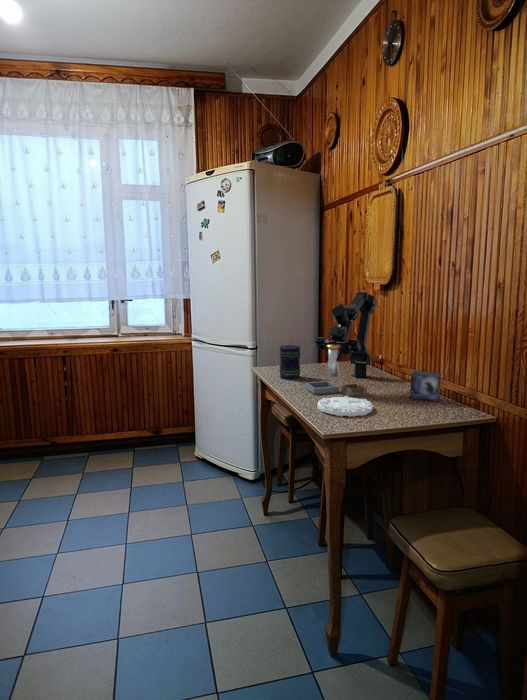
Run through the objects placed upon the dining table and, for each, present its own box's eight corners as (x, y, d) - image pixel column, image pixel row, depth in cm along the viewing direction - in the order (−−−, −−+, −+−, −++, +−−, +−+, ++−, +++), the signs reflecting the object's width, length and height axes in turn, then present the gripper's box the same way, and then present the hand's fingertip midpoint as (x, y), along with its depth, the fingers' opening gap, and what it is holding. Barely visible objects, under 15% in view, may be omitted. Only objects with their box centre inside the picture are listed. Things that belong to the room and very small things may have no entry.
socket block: (340, 391, 197) (340, 384, 196) (357, 390, 199) (358, 383, 198) (348, 396, 189) (348, 389, 189) (366, 394, 191) (366, 387, 191)
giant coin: (379, 407, 175) (379, 399, 175) (362, 421, 158) (362, 413, 158) (329, 400, 185) (329, 393, 185) (308, 412, 168) (308, 404, 168)
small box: (409, 399, 184) (410, 373, 183) (412, 395, 190) (413, 370, 188) (437, 402, 179) (439, 375, 178) (439, 398, 185) (441, 372, 183)
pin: (325, 374, 198) (326, 344, 196) (338, 374, 198) (339, 343, 196) (327, 377, 193) (328, 346, 191) (340, 377, 193) (341, 345, 191)
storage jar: (300, 379, 219) (300, 348, 217) (279, 379, 220) (279, 348, 217) (299, 375, 229) (299, 345, 227) (279, 375, 229) (279, 345, 227)
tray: (304, 388, 203) (304, 382, 202) (328, 386, 206) (328, 381, 205) (313, 394, 192) (313, 388, 192) (338, 392, 195) (338, 386, 195)
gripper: (317, 318, 200) (305, 347, 192) (359, 320, 190) (348, 350, 183) (324, 334, 208) (313, 363, 200) (365, 337, 198) (355, 367, 191)
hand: (332, 360), depth 193 cm, fingers closed on pin, 4 cm apart
